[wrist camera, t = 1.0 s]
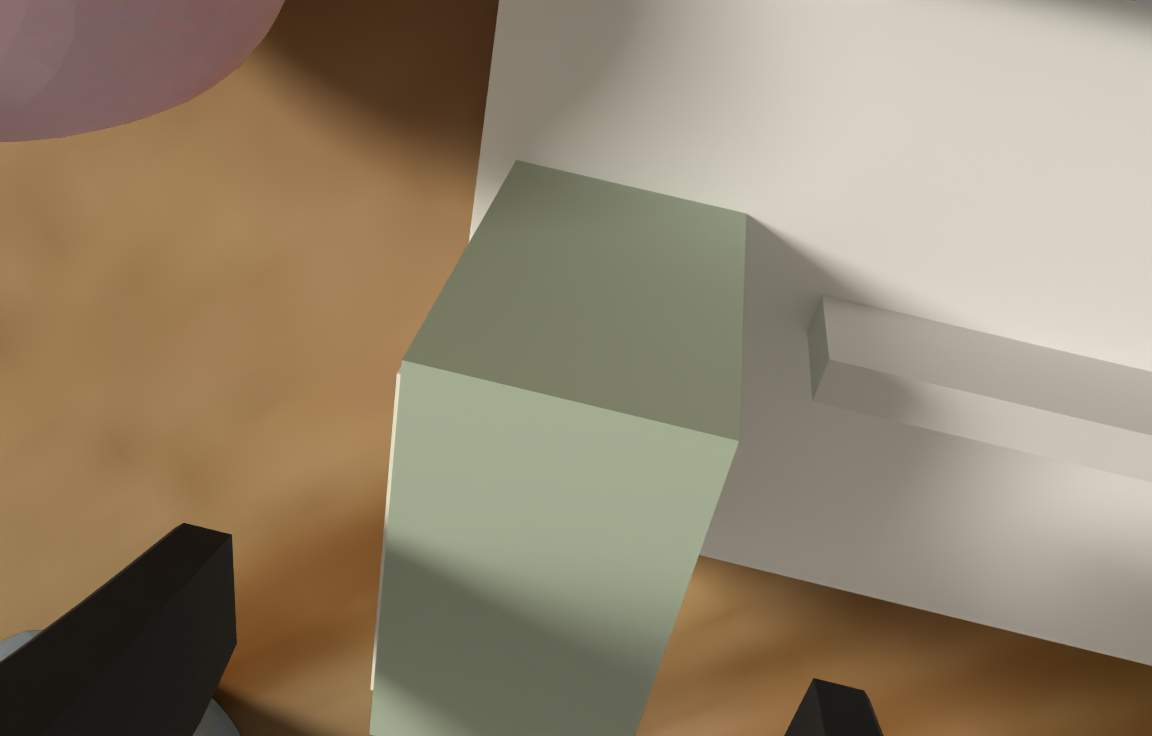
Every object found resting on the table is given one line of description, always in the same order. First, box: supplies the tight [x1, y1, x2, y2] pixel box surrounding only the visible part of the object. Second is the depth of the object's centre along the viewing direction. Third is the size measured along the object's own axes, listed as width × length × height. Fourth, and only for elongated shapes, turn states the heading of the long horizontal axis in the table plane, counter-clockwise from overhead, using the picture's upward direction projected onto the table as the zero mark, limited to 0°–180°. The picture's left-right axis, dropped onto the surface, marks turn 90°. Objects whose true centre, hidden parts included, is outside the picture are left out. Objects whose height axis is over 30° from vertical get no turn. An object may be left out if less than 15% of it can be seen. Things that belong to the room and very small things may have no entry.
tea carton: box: [369, 160, 746, 736], centre depth 15 cm, size 7×4×6 cm, turn 170°
